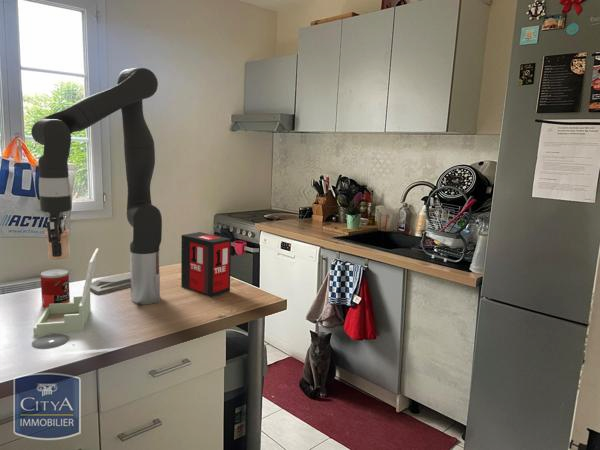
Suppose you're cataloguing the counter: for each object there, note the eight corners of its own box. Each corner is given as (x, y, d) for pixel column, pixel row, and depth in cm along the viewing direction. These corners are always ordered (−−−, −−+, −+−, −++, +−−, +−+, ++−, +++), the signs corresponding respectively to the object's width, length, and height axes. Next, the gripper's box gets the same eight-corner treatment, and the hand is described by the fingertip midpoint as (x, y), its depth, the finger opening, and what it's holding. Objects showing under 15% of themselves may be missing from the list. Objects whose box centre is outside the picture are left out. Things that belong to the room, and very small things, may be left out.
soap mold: (83, 289, 158) (82, 280, 157) (133, 278, 173) (132, 269, 173) (98, 296, 152) (98, 287, 151) (148, 284, 168) (148, 275, 167)
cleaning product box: (181, 287, 164) (181, 235, 161) (199, 282, 171) (200, 232, 168) (212, 297, 155) (212, 242, 151) (229, 291, 162) (231, 238, 158)
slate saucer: (71, 335, 120) (71, 332, 120) (65, 348, 112) (65, 346, 112) (36, 338, 117) (36, 335, 117) (28, 352, 109) (28, 349, 109)
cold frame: (90, 312, 136) (89, 287, 135) (83, 333, 121) (82, 305, 120) (47, 314, 132) (45, 289, 131) (33, 337, 118) (32, 308, 116)
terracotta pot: (72, 254, 127) (70, 222, 125) (69, 259, 121) (67, 226, 120) (49, 255, 125) (47, 223, 123) (44, 260, 119) (42, 227, 118)
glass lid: (88, 285, 135) (91, 285, 135) (80, 303, 120) (83, 303, 120) (96, 248, 133) (98, 248, 134) (89, 261, 119) (92, 262, 119)
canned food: (58, 311, 136) (56, 277, 134) (36, 308, 137) (34, 274, 135) (75, 303, 143) (74, 270, 141) (54, 300, 145) (52, 268, 143)
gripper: (65, 197, 114) (69, 259, 118) (74, 190, 128) (78, 247, 131) (33, 197, 112) (38, 261, 115) (45, 190, 125) (49, 248, 129)
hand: (59, 253), depth 123 cm, fingers closed on terracotta pot, 5 cm apart
